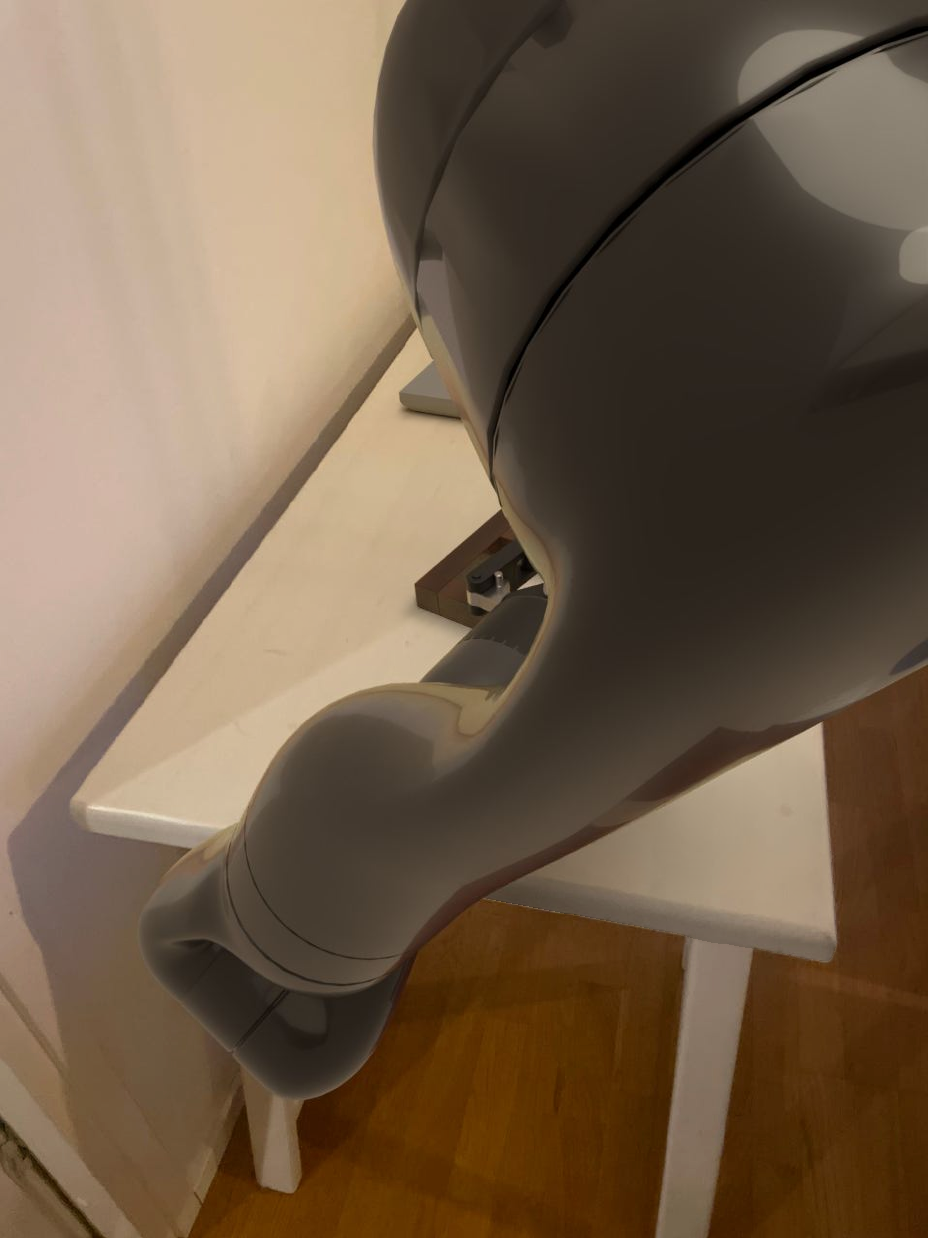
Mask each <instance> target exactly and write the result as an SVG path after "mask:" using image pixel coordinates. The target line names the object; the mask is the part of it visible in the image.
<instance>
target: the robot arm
mask: <svg viewBox="0 0 928 1238" xmlns="http://www.w3.org/2000/svg"><path fill="white" fill-rule="evenodd" d="M376 84H377V85H376V92H375V101H374V108H373V109H374V110H373V121H372V143H371V145H372V157H373V159H372V160H373V172H374V179H375V185H376V190H377V196H378V201H379V207H380V213H381V219H382V224H383V227H384V231H385V235H386V240H387V242H388V246H389V250H390V254H391V259H392V262H393V266H394V269H395V271H396V274H397V278H398V280H399V283H400V286H401V288H402V291H403V294H404V295H403V296H404V297H405V300H406V304H407V307H408V309H409V312H410V313H411V316H412V318H413V321H414V323H415V325H416V328H417V330H418V333H419V335H420V337H421V340H422V341H423V343H424V346H425V347H426V350H427V352H428V354H429V357H430V358H431V359H432V361H434V362H435V364H436V367H437V369H438V371H439V373H440V375H441V377H442V379H443V382H444V384H445V386H446V388H447V390H448V392H449V394H450V397H451V399H452V401H453V403H454V405H455V407H456V410H457V412H458V414H459V416H460V418H459V419H460V420H461V423H462V425H463V427H464V429H465V431H466V433H467V435H468V438H469V440H470V442H471V444H472V446H473V448H474V450H475V452H476V454H477V457H478V459H479V461H480V463H481V465H482V468H483V470H484V472H485V474H486V475H487V479H488V480H489V483H490V485H491V486H492V487H493V490H494V492H495V494H496V495H497V500H498V501H497V502H498V504H499V507H500V509H502V511H503V513H504V515H505V517H506V519H507V521H508V523H509V525H510V527H511V529H512V531H513V533H514V535H515V537H516V539H514V540H513V541H511V542H510V543H509V544H507V545H506V546H505V547H503V548H502V549H501V550H499V551H498V552H497V553H495V554H494V555H492V556H491V557H490V558H488V559H487V560H486V561H484V562H483V563H482V564H480V565H479V566H478V567H476V568H475V569H473V570H472V571H471V572H469V573H468V574H467V576H466V582H467V599H468V606H469V612H470V614H472V615H474V616H483V615H485V614H487V613H488V612H489V613H488V614H487V615H486V616H485V617H484V618H483V619H482V620H481V621H480V622H479V623H478V624H477V625H476V626H475V627H474V628H471V630H469V631H468V633H466V634H465V635H464V636H463V637H462V638H461V639H460V640H459V641H458V642H457V643H456V644H455V645H453V647H452V648H451V649H450V650H449V651H448V652H447V653H446V654H445V655H443V657H442V658H441V659H440V660H439V661H438V662H436V664H435V665H434V666H432V667H431V668H430V670H428V671H427V672H426V673H425V674H424V675H423V677H421V679H420V680H419V681H418V682H391V683H385V684H380V685H376V686H372V687H368V688H364V689H359V690H357V691H355V692H352V693H350V694H347V695H345V696H342V697H341V698H338V699H336V700H335V701H332V702H330V703H328V704H327V705H326V706H324V707H322V708H320V709H319V710H318V711H317V712H315V713H314V714H313V715H311V716H309V718H307V719H306V720H305V721H304V722H302V723H301V724H300V725H299V726H298V727H297V728H296V729H295V730H294V731H293V732H292V733H291V734H290V736H288V738H287V739H286V740H285V741H284V743H283V744H282V745H281V746H280V747H279V748H278V750H277V751H276V753H275V754H274V755H273V757H272V758H271V759H270V761H269V763H268V765H267V766H266V769H265V771H264V772H263V774H262V776H261V778H260V780H259V782H258V783H257V785H256V787H255V789H254V791H253V792H252V795H251V797H250V799H249V801H248V803H247V805H246V807H245V809H244V810H243V813H242V815H241V817H240V819H239V821H238V822H235V823H233V824H230V825H228V826H227V827H225V828H223V829H220V830H219V831H217V832H216V833H214V834H212V835H211V836H209V837H207V838H206V839H204V840H203V841H201V842H200V843H199V844H197V845H196V846H194V847H193V848H192V849H190V850H189V851H188V852H186V854H184V855H182V856H181V858H179V859H178V860H176V861H175V863H173V865H172V866H171V867H170V868H169V869H168V870H167V871H166V872H165V873H164V874H163V875H162V877H161V878H160V879H159V880H158V882H157V883H156V884H155V885H154V887H153V888H152V890H151V891H150V893H149V894H148V896H147V897H146V900H145V902H144V904H143V906H142V909H141V911H140V914H139V918H138V922H137V927H136V928H137V929H136V936H137V945H138V950H139V953H140V956H141V958H142V962H143V963H144V965H145V967H146V969H147V970H148V972H149V973H150V976H152V977H153V979H154V980H155V981H156V983H158V984H159V986H160V987H161V988H162V989H163V990H164V991H165V992H166V993H168V995H169V996H170V997H171V998H172V999H173V1000H174V1001H175V1002H176V1003H177V1004H180V1006H181V1008H183V1009H184V1011H186V1013H187V1014H188V1015H190V1016H191V1017H192V1018H193V1019H194V1020H195V1021H196V1022H197V1023H198V1024H199V1025H200V1026H201V1027H202V1028H203V1029H204V1030H205V1031H206V1032H207V1033H208V1034H209V1035H210V1036H211V1037H212V1038H213V1039H214V1040H215V1041H216V1042H217V1043H219V1044H220V1046H221V1047H223V1048H224V1049H225V1050H226V1052H228V1053H232V1054H231V1056H232V1058H233V1059H234V1060H235V1061H236V1062H237V1063H238V1064H239V1065H240V1067H242V1068H243V1069H244V1070H245V1071H246V1072H247V1073H248V1075H250V1076H251V1077H252V1078H253V1079H254V1080H255V1081H256V1082H257V1083H258V1084H259V1085H260V1086H261V1087H263V1088H264V1089H265V1090H267V1091H268V1092H270V1093H271V1094H272V1095H274V1096H275V1097H278V1098H279V1099H283V1100H286V1101H300V1102H301V1101H306V1100H310V1099H315V1098H319V1097H322V1096H324V1095H325V1094H327V1093H330V1092H332V1091H334V1090H336V1089H338V1088H339V1087H341V1086H342V1085H344V1084H345V1083H346V1082H348V1081H349V1080H350V1079H351V1078H352V1077H354V1076H355V1075H356V1074H357V1073H358V1072H359V1071H360V1070H361V1069H362V1067H363V1066H364V1065H365V1064H366V1063H367V1062H368V1061H369V1060H370V1058H371V1057H372V1055H373V1054H374V1052H375V1051H376V1049H377V1047H378V1046H379V1045H380V1042H381V1041H382V1039H383V1037H384V1035H385V1033H386V1031H387V1029H388V1027H389V1025H390V1024H391V1020H392V1019H393V1016H394V1014H395V1012H396V1010H397V1007H398V1005H399V1003H400V1000H401V997H402V995H403V994H404V993H403V992H404V990H405V987H406V985H407V983H408V980H409V978H410V974H411V971H412V969H413V966H414V964H415V961H416V959H417V955H418V953H419V951H420V950H421V949H423V948H424V946H426V945H428V943H430V941H432V940H433V939H434V938H435V937H437V935H439V934H440V932H442V931H443V930H445V928H446V927H448V926H449V925H450V924H451V923H452V922H453V921H454V920H456V919H457V918H458V917H459V916H460V915H461V914H462V913H464V912H465V911H467V910H468V909H469V908H471V907H473V906H474V905H475V904H476V903H478V902H480V901H482V900H483V899H485V898H486V897H487V896H489V895H492V894H493V893H494V892H496V891H499V890H500V889H502V888H504V887H506V886H508V885H510V884H511V883H513V882H515V881H517V880H520V879H522V878H524V877H526V876H528V875H530V874H532V873H534V872H537V871H538V870H540V869H542V868H544V867H546V866H549V865H551V864H553V863H555V862H557V861H560V860H561V859H563V858H565V857H567V856H569V855H572V854H574V853H576V852H578V851H580V850H582V849H584V848H587V847H588V846H589V845H592V844H594V843H597V842H598V841H601V840H602V839H604V838H606V837H608V836H610V835H612V834H614V833H616V832H618V831H620V830H622V829H624V828H626V827H628V826H629V825H632V824H634V823H636V822H637V821H639V820H641V819H643V818H645V817H647V816H649V815H651V814H652V813H654V812H656V811H658V810H660V809H662V808H664V807H666V806H667V805H669V804H671V803H674V802H676V801H677V800H678V799H681V798H683V797H684V796H687V795H688V794H690V793H692V792H693V791H695V790H698V789H699V788H700V787H702V786H704V785H706V784H708V783H710V782H711V781H713V780H715V779H716V778H718V777H721V776H722V775H724V774H726V773H728V772H730V771H731V770H733V769H735V768H737V767H739V766H741V765H743V764H745V763H746V762H749V761H751V760H753V759H754V758H756V757H758V756H760V755H762V754H764V753H766V752H768V751H770V750H772V749H773V748H776V747H777V746H779V745H781V744H783V743H785V742H787V741H789V740H791V739H793V738H795V737H796V736H799V735H801V734H802V733H804V732H806V731H808V730H810V729H811V728H813V727H815V726H818V725H819V724H821V723H823V722H824V721H826V720H828V719H831V718H832V717H833V716H835V715H838V714H839V713H842V712H843V711H845V710H847V709H848V708H850V707H853V706H854V705H855V704H857V703H860V702H861V701H863V700H865V699H867V698H869V697H870V696H872V695H874V694H876V693H877V692H880V691H882V690H883V689H885V688H887V687H888V686H890V685H892V684H894V683H897V682H898V681H900V680H902V679H903V678H905V677H907V676H909V675H910V674H913V673H915V672H916V671H918V670H920V669H922V668H924V667H925V666H927V665H928V0H405V1H404V3H403V5H402V7H401V9H400V10H399V12H398V14H397V15H396V18H395V21H394V23H393V26H392V29H391V32H390V34H389V37H388V39H387V43H386V45H385V48H384V53H383V56H382V61H381V64H380V69H379V72H378V78H377V83H376ZM518 562H519V564H517V563H518ZM537 575H538V576H539V577H540V579H541V580H542V583H539V584H534V585H531V586H527V587H523V588H522V586H524V585H525V584H527V583H528V582H529V581H531V579H533V578H534V577H535V576H537ZM232 1051H233V1052H232Z"/></svg>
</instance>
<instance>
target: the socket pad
mask: <svg viewBox="0 0 928 1238" xmlns="http://www.w3.org/2000/svg"><path fill="white" fill-rule="evenodd" d="M514 539H516V537H515V535H514V533H513V531H512V529H511V527H510V525H509V523H508V521H507V519H506V517H505V515H504V513H503V511H502V508H500V509H499V510H498V511H496V513H494V514H493V515H492V516H491V517H490V518H488V520H486V521H485V522H484V523H483V524H482V525H480V526H479V527H478V528H477V529H476V530H475V531H473V532H472V533H471V534H470V535H469V536H468V537H467V538H465V539H464V540H463V541H462V542H461V543H460V544H458V545H457V546H456V547H455V548H454V549H452V550H451V551H450V552H449V553H448V554H447V555H446V556H445V557H443V558H442V559H441V560H440V561H439V562H437V563H436V564H435V565H434V566H433V567H432V568H430V570H428V571H427V572H426V573H425V574H424V575H422V576H421V577H420V578H418V580H417V581H415V582H414V585H413V586H414V594H415V602H416V606H417V607H419V608H421V609H423V610H426V611H429V612H431V613H434V614H436V615H439V616H442V617H443V618H445V619H448V620H451V621H454V622H456V623H459V624H461V625H464V626H466V627H468V628H471V629H473V628H474V627H475V626H476V625H477V624H478V623H479V622H480V621H481V620H482V619H483V618H484V617H485V616H486V615H487V614H488V613H489V612H488V613H487V614H485V615H483V616H474V615H472V614H470V612H469V606H468V599H467V582H466V576H467V574H468V573H469V572H471V571H472V570H473V569H475V568H476V567H478V566H479V565H480V564H482V563H483V562H484V561H486V560H487V559H488V558H490V557H491V556H492V555H494V554H495V553H497V552H498V551H499V550H501V549H502V548H503V547H505V546H506V545H507V544H509V543H510V542H511V541H513V540H514ZM517 564H519V562H518V563H517Z"/></svg>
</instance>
